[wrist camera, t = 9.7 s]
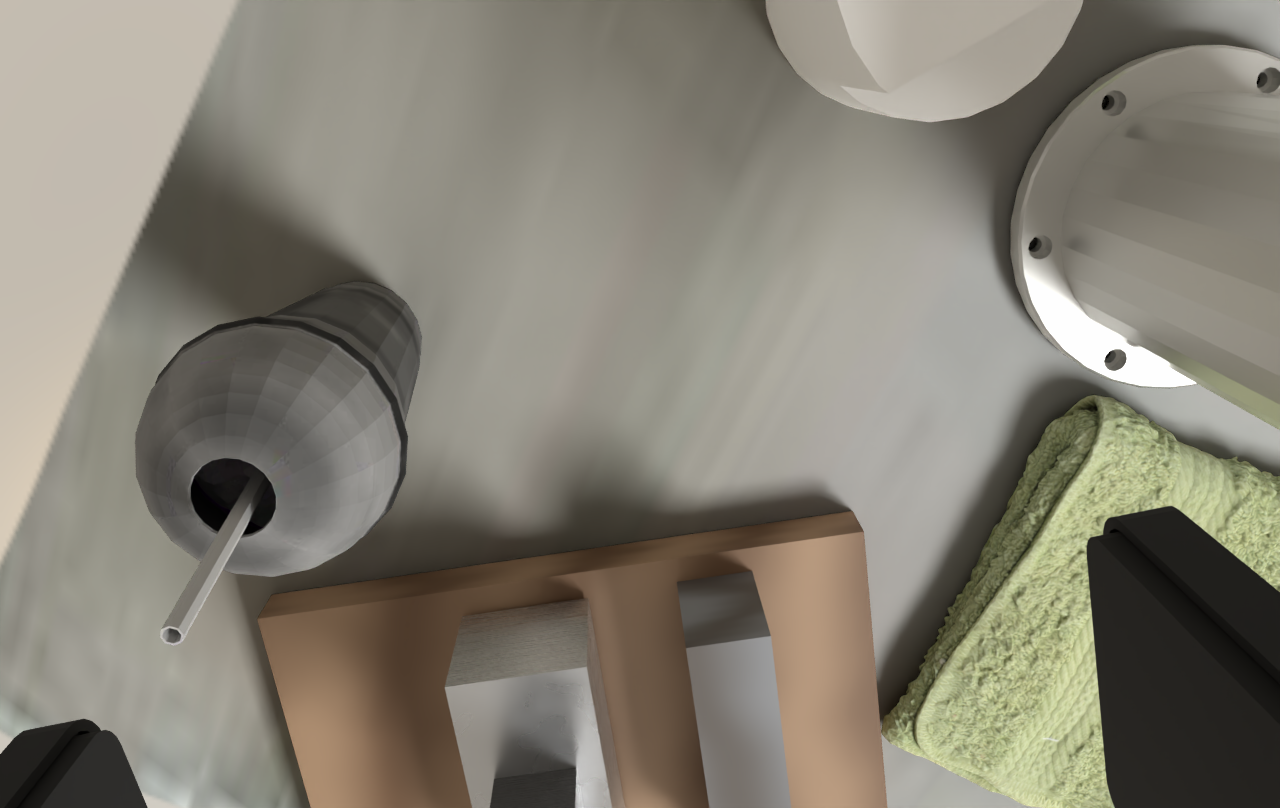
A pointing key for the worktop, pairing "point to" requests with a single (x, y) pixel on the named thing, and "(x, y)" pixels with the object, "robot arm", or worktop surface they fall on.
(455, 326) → the worktop surface
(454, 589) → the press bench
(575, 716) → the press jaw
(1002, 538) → the washcloth
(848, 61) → the base with upright slab
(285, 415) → the beverage cup
